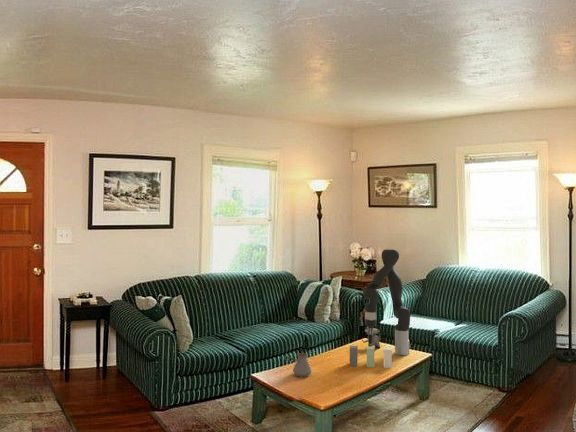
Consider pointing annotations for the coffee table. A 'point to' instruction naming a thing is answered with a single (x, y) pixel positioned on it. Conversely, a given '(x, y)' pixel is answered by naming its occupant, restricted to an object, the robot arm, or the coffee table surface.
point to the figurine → (374, 338)
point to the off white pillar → (387, 357)
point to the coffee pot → (301, 365)
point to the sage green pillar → (370, 356)
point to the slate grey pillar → (353, 355)
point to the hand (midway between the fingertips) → (370, 343)
